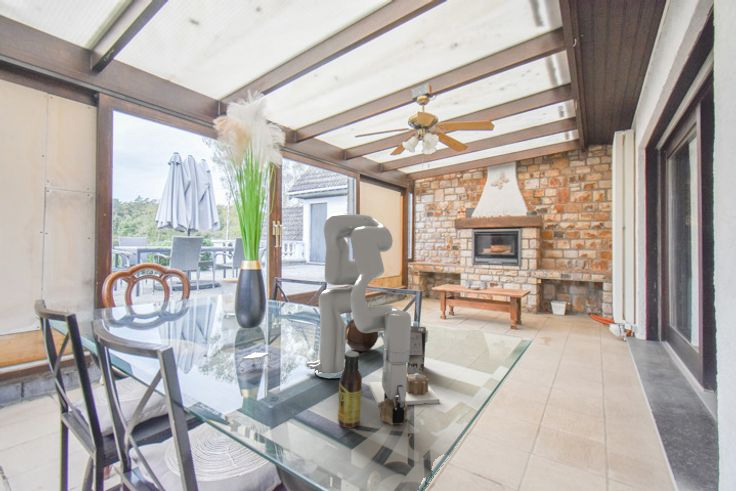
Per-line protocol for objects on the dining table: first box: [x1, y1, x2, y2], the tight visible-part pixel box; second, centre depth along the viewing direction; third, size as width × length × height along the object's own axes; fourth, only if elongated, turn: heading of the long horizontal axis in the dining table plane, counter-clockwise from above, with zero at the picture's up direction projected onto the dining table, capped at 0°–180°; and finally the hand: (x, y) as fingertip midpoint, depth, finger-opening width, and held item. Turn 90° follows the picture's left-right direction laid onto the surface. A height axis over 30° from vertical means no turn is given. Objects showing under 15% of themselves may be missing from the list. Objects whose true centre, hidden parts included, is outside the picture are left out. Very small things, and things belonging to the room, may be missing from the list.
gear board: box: [368, 373, 440, 407], centre depth 114 cm, size 20×14×7 cm
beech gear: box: [379, 398, 408, 426], centre depth 99 cm, size 7×7×4 cm
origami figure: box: [237, 351, 274, 370], centre depth 130 cm, size 12×8×5 cm
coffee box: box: [406, 325, 427, 376], centre depth 134 cm, size 9×6×16 cm
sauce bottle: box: [337, 350, 363, 429], centre depth 95 cm, size 7×6×20 cm
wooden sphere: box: [345, 318, 379, 352], centre depth 153 cm, size 15×15×15 cm
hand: (393, 413), depth 99 cm, fingers open, 9 cm apart
